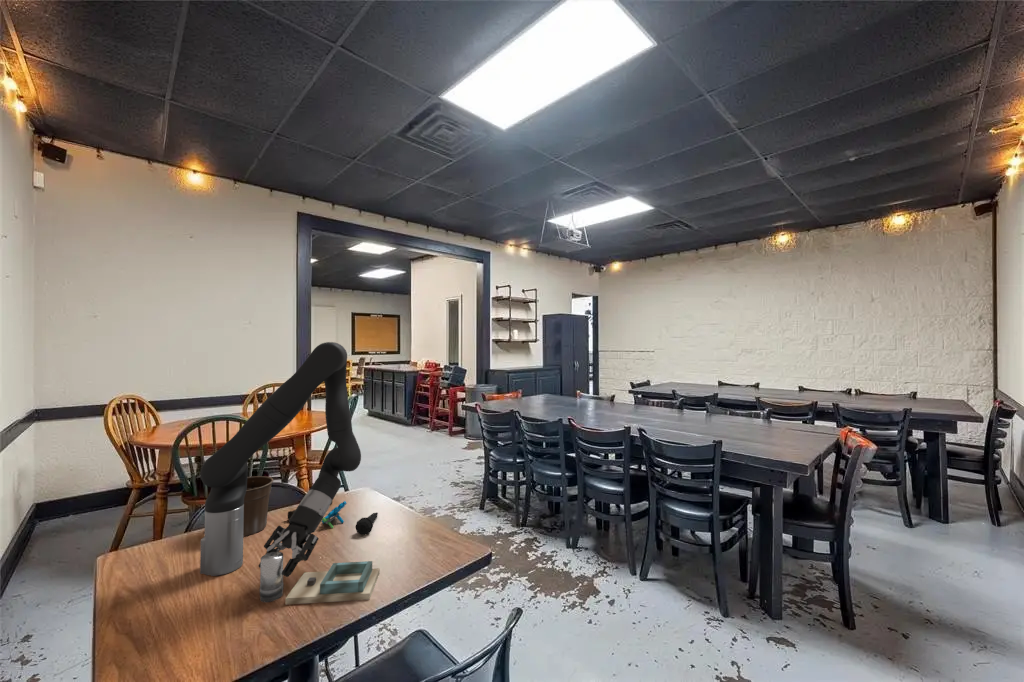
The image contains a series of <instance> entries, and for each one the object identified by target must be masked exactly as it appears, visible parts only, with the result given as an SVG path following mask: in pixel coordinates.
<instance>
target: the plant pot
mask: <svg viewBox="0 0 1024 682" xmlns="http://www.w3.org/2000/svg"><path fill="white" fill-rule="evenodd" d="M273 482H274V478H272V477H270V476H266V475H265V476H262V475H260V476H259V475H258V476H255V475H253V476H247V490H246V494H245V497H244V528H243V537H246V536H251V535H254V534H257V533H259V532H261V531H263V530H264V529H265V528H266V526H267V523H268V513H269V512H268V511H269V501H270V495H271V493H272V492H271V490H272V485H273Z"/></svg>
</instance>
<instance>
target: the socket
mask: <svg viewBox="0 0 1024 682" xmlns="http://www.w3.org/2000/svg"><path fill="white" fill-rule="evenodd" d="M265 554H266V553H265ZM265 554H264V555H262V556H261V557H260V562H261V567H260V568H259V569H260V573H259V574H260V575H259V576H260V577H259V581H260V582H259V583H260V585H259V601H260V602H261V603H271V602H272V603H273V602H274V601H277V600H279V599H280V598H281V597H283V594H284V575H282V571H283V570H284V552H282V551H279V552H271V553H268V554H266V555H265Z"/></svg>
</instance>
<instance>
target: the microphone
mask: <svg viewBox="0 0 1024 682" xmlns="http://www.w3.org/2000/svg"><path fill="white" fill-rule="evenodd" d="M378 514H379V513H378V512H373V513H371V514H370V515H368V516H367V517H361V518H360V519H359V520H357V521H356V524H355V531H356V533H357V534H359V535H360V536H361V535H362V536H366V535H365V534H367V535H368V534H369V533H371V532H372V530H373V527H374V523H375V521H376V520H377V519H378Z"/></svg>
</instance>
